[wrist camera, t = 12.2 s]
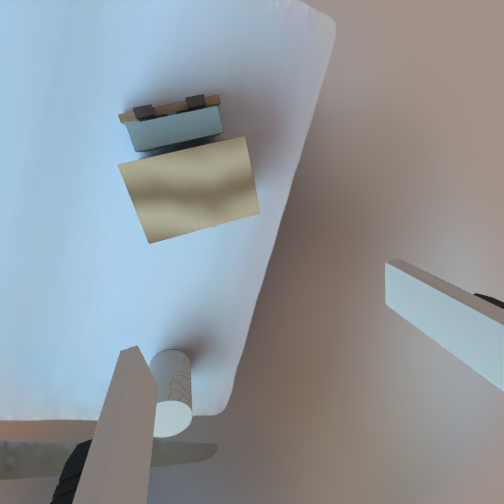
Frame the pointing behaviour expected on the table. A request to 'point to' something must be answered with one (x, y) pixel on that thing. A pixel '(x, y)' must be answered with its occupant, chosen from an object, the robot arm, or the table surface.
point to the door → (175, 129)
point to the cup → (172, 392)
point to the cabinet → (189, 180)
